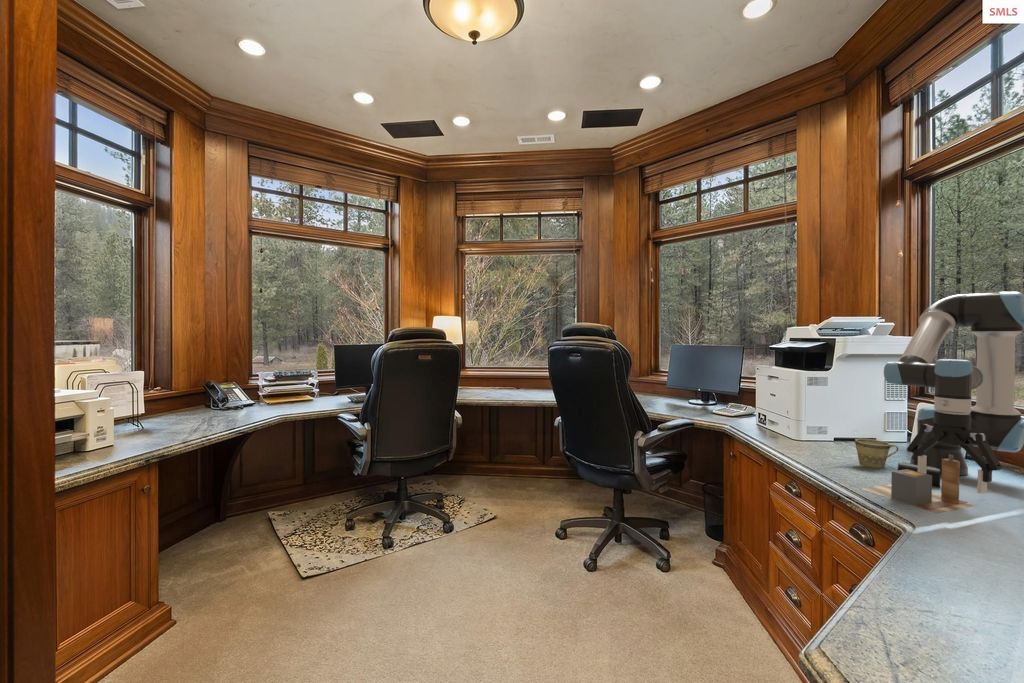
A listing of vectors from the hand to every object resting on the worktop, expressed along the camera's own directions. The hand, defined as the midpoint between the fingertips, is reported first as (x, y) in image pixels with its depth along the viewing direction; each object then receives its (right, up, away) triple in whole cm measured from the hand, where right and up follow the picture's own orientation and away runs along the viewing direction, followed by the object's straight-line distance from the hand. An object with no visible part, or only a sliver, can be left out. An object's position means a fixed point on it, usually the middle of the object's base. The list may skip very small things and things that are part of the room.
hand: (950, 484), depth 123 cm
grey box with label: (-11, -5, +1) cm, 12 cm away
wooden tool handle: (0, -5, 0) cm, 5 cm away
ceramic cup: (+8, -6, +34) cm, 36 cm away
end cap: (+7, -6, +17) cm, 20 cm away
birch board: (-6, -6, +4) cm, 10 cm away
